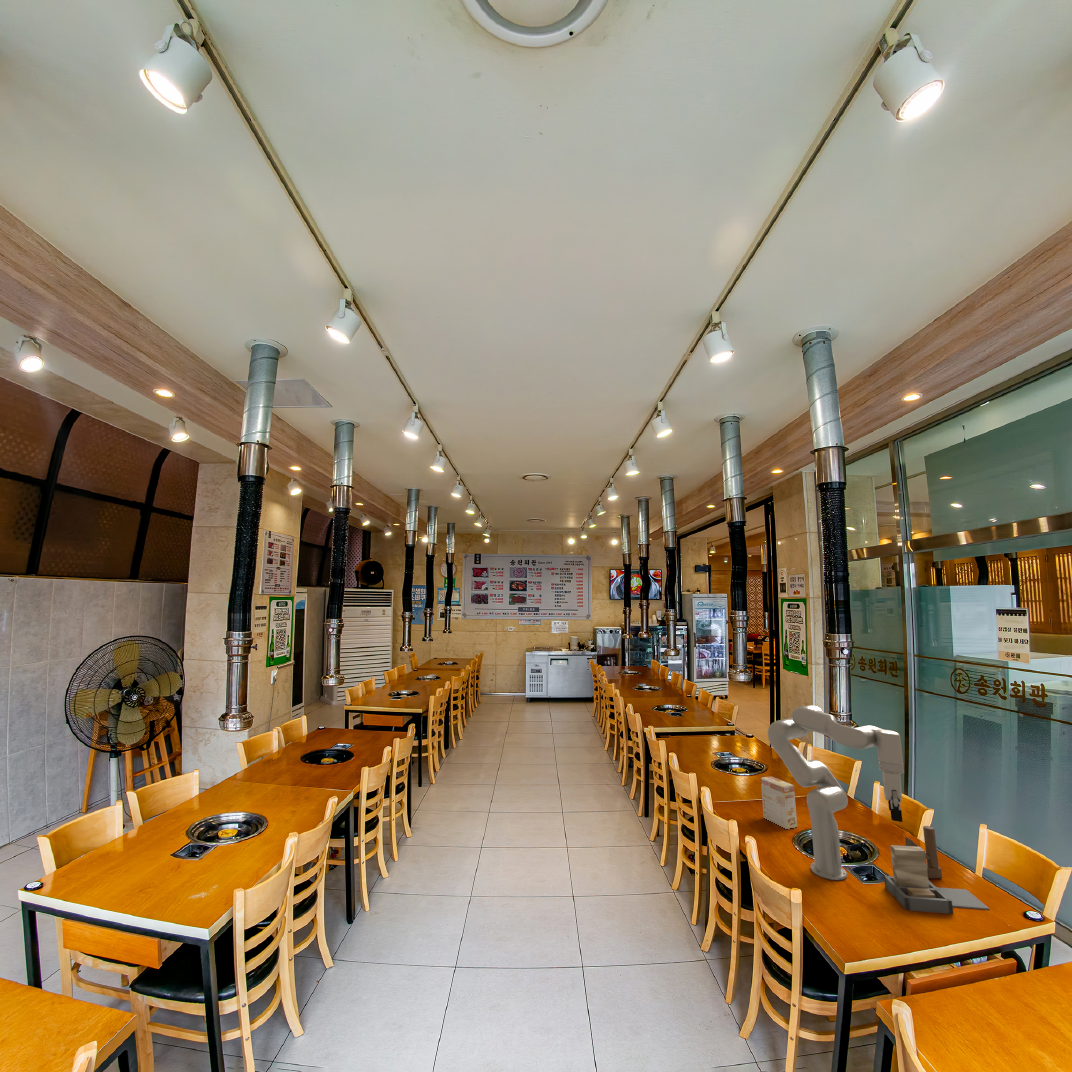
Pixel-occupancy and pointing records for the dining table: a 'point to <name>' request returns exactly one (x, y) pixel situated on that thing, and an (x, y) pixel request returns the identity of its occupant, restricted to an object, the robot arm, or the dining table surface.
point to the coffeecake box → (779, 802)
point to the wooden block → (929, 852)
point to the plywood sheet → (909, 866)
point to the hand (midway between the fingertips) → (895, 815)
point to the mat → (963, 898)
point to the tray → (919, 898)
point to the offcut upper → (920, 893)
